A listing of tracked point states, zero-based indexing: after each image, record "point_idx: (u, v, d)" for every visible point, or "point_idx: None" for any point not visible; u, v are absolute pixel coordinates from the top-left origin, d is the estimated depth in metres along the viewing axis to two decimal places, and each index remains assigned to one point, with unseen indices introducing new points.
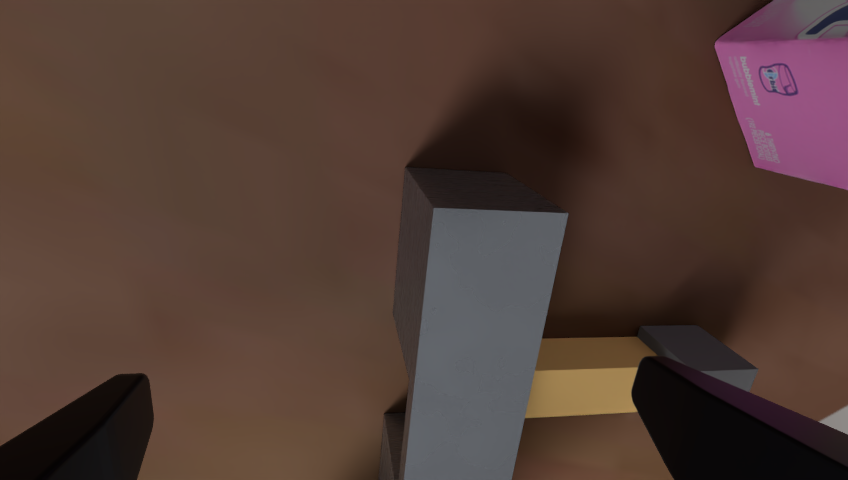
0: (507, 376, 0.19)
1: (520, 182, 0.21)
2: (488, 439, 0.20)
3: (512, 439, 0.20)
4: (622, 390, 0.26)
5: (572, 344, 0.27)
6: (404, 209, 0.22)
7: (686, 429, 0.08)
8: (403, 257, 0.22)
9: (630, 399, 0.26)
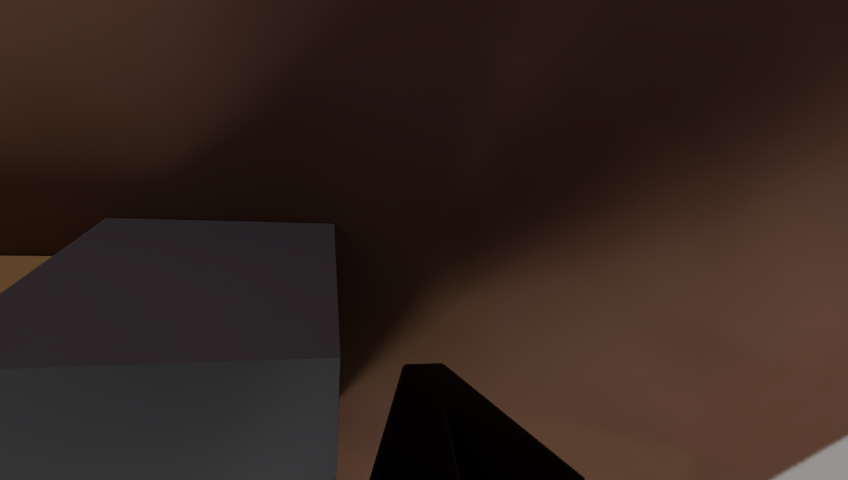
0: None
1: None
2: None
3: None
4: None
5: None
6: None
7: None
8: None
9: None
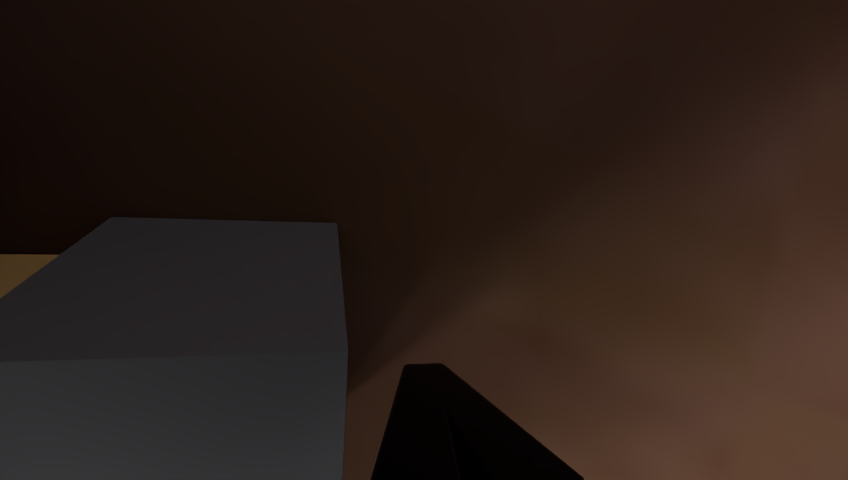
0: None
1: None
2: None
3: None
4: None
5: None
6: None
7: None
8: None
9: None
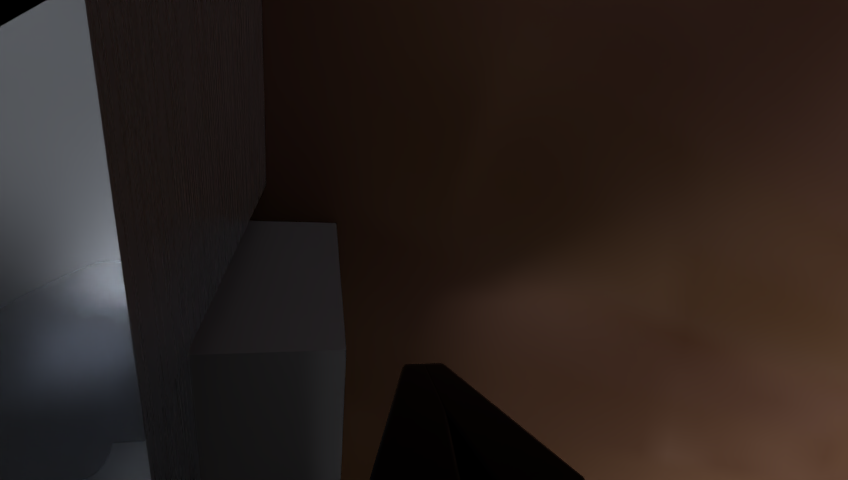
0: None
1: None
2: None
3: None
4: None
5: None
6: None
7: None
8: None
9: None
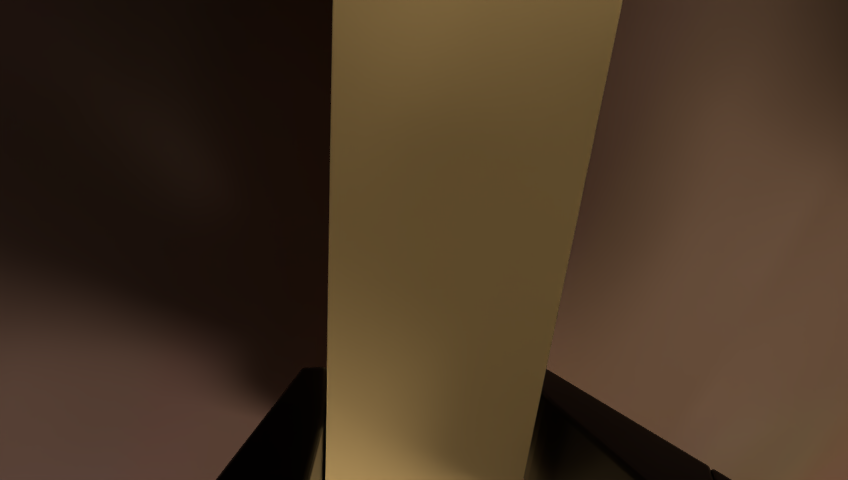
0: None
1: None
2: None
3: None
4: None
5: None
6: None
7: (536, 440, 0.07)
8: None
9: None
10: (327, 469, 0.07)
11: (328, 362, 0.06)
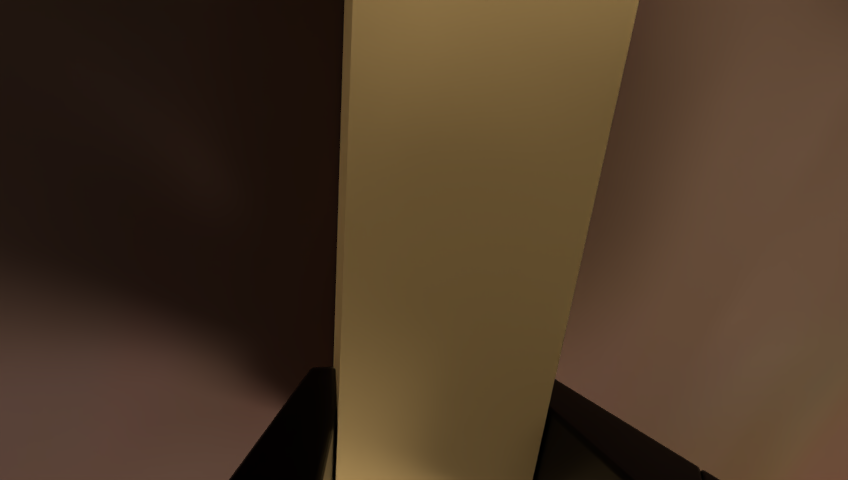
0: None
1: None
2: None
3: None
4: None
5: (344, 56, 0.07)
6: None
7: None
8: None
9: None
10: (338, 454, 0.06)
11: (341, 343, 0.06)
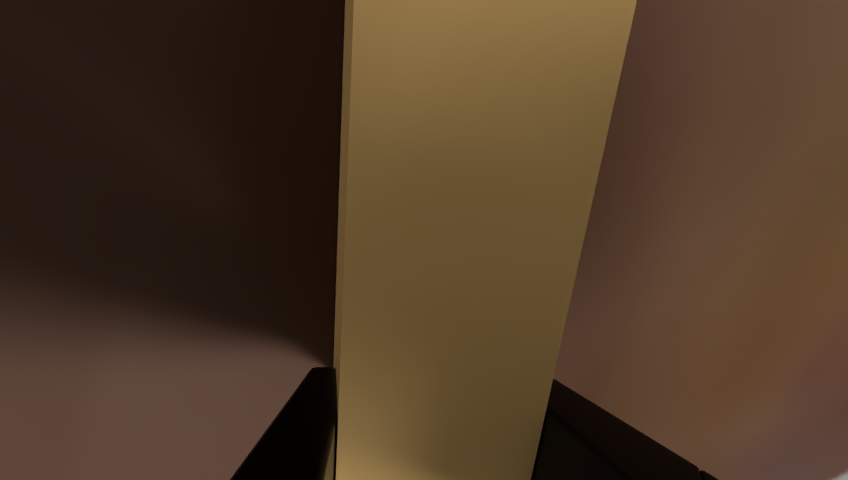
0: None
1: None
2: None
3: None
4: None
5: None
6: None
7: None
8: None
9: None
10: (342, 363, 0.06)
11: (346, 233, 0.05)
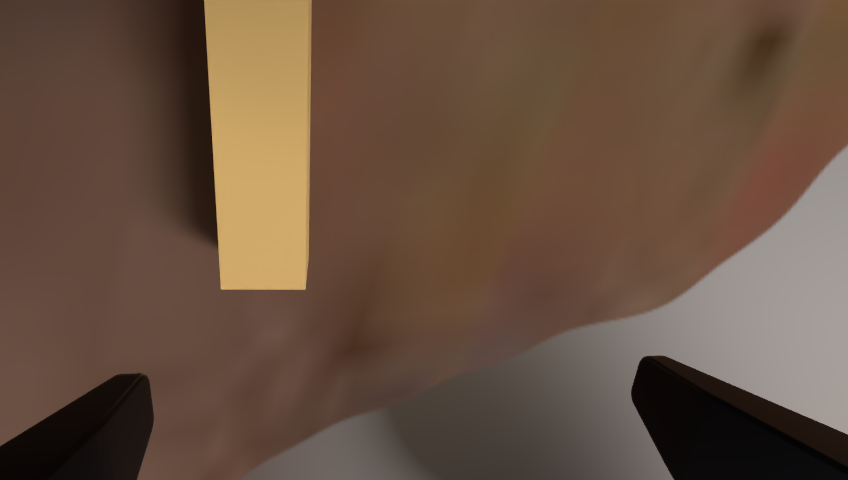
0: None
1: None
2: None
3: None
4: (257, 8, 0.14)
5: None
6: None
7: (686, 429, 0.08)
8: None
9: None
10: (218, 230, 0.16)
11: (215, 181, 0.16)
